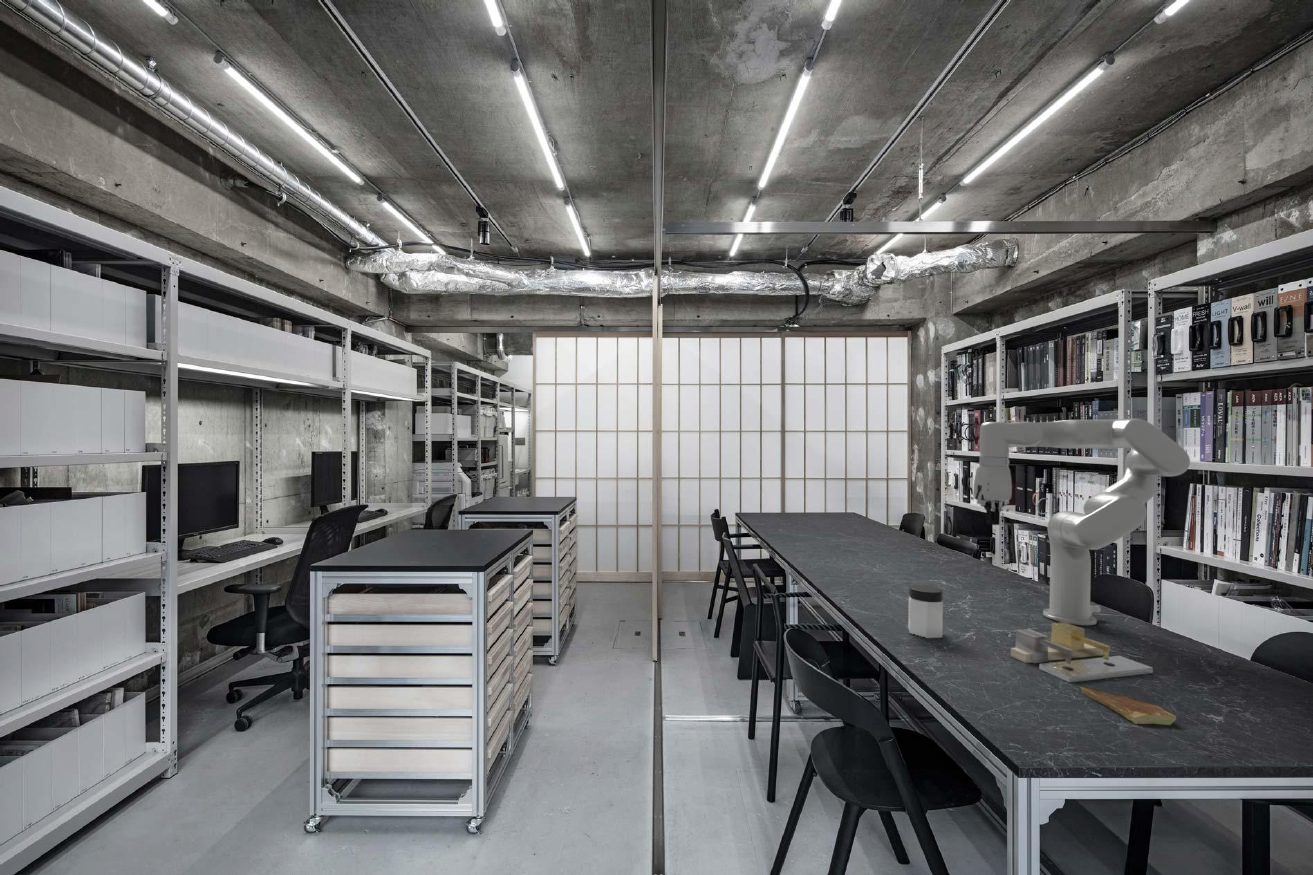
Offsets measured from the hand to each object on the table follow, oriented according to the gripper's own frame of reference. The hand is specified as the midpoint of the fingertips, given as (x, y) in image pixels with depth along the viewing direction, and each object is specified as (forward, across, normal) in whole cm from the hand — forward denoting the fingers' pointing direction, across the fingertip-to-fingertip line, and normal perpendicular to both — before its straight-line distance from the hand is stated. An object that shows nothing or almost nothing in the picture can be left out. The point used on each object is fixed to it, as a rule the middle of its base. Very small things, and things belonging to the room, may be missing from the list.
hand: (992, 524), depth 165 cm
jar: (+27, +32, +10) cm, 43 cm away
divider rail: (+27, +11, +33) cm, 44 cm away
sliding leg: (+25, +8, +34) cm, 43 cm away
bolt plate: (+27, +11, +39) cm, 49 cm away
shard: (+28, +25, +55) cm, 66 cm away
